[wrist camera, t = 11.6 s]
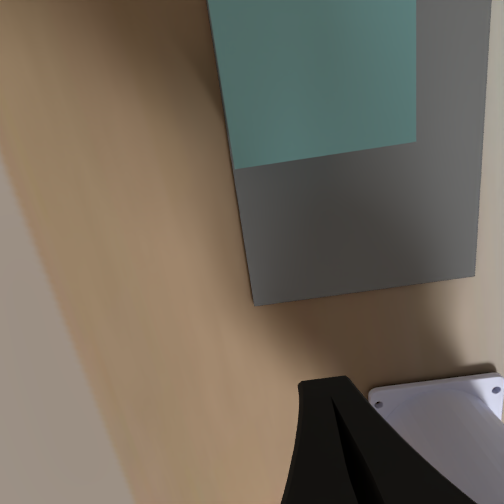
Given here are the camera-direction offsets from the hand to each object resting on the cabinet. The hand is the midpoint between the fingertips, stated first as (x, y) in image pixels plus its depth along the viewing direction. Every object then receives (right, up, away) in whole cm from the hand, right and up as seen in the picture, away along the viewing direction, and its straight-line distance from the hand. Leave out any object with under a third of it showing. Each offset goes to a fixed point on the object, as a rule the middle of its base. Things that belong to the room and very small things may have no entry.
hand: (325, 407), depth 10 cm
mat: (+3, +9, +7) cm, 12 cm away
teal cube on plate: (0, +12, +6) cm, 13 cm away
